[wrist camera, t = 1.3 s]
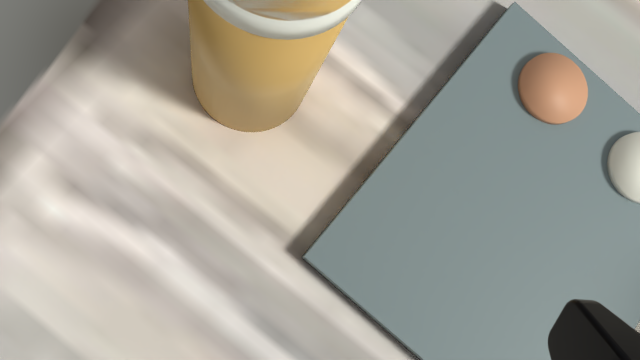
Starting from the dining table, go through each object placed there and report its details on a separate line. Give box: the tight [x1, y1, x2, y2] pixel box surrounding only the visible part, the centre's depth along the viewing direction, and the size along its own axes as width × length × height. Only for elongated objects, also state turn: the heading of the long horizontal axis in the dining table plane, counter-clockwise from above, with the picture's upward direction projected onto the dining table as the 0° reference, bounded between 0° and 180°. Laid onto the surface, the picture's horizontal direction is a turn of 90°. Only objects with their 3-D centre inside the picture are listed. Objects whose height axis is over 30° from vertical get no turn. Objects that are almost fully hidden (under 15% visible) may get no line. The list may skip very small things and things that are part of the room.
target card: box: [302, 2, 640, 360], centre depth 24 cm, size 14×12×1 cm
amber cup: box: [188, 0, 362, 132], centre depth 18 cm, size 5×5×10 cm
